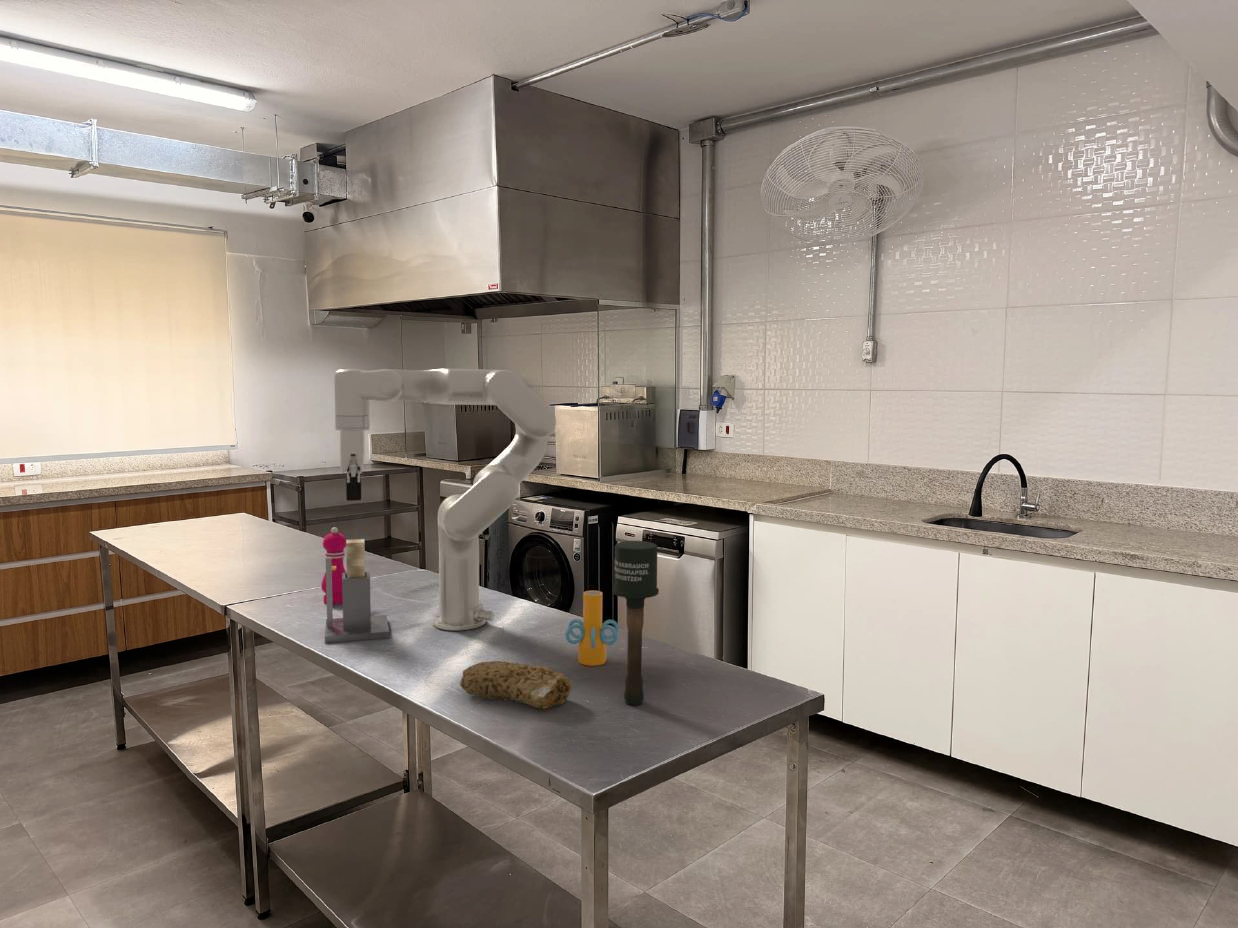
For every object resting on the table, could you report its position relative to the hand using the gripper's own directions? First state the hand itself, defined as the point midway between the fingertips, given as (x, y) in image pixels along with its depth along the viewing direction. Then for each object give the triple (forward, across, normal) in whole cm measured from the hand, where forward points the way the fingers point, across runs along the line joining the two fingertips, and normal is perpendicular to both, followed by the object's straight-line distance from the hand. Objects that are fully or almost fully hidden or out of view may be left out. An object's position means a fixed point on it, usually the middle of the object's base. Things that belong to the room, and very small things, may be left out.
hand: (353, 497), depth 191 cm
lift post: (+30, 0, 0) cm, 30 cm away
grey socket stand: (+32, 0, 0) cm, 32 cm away
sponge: (+32, +50, +28) cm, 66 cm away
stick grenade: (+32, +59, +49) cm, 83 cm away
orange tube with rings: (+32, +35, +48) cm, 67 cm away
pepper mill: (+32, -28, -5) cm, 43 cm away
